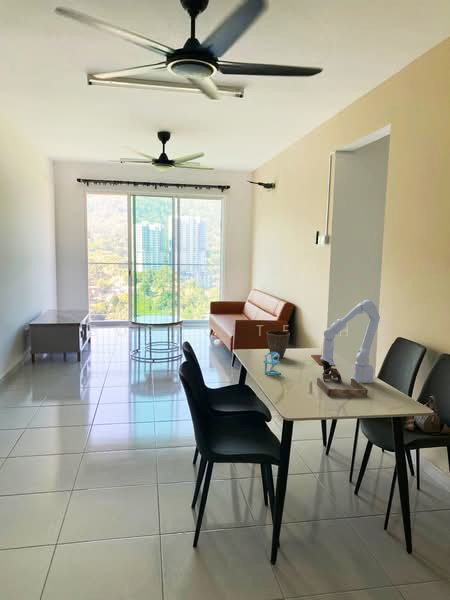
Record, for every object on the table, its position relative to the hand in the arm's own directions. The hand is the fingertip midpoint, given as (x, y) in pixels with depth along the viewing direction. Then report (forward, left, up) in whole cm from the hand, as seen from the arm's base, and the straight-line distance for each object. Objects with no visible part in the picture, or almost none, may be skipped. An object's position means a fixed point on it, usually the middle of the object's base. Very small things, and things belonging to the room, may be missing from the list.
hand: (326, 374), depth 224 cm
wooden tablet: (-9, -34, -2) cm, 35 cm away
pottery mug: (-1, +7, -2) cm, 8 cm away
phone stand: (+30, -5, -2) cm, 30 cm away
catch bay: (0, +21, -1) cm, 21 cm away
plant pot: (+19, -40, -2) cm, 44 cm away
